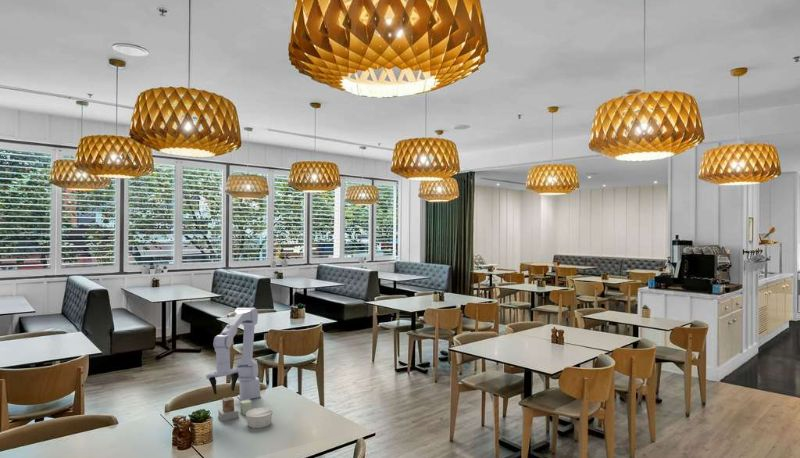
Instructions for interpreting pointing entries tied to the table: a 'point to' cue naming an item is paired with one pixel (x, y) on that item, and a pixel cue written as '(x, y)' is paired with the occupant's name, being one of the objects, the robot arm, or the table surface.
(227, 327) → the robot arm
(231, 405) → the walnut block
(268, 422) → the ramekin
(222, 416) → the plinth block
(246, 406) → the sage block
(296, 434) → the table surface
